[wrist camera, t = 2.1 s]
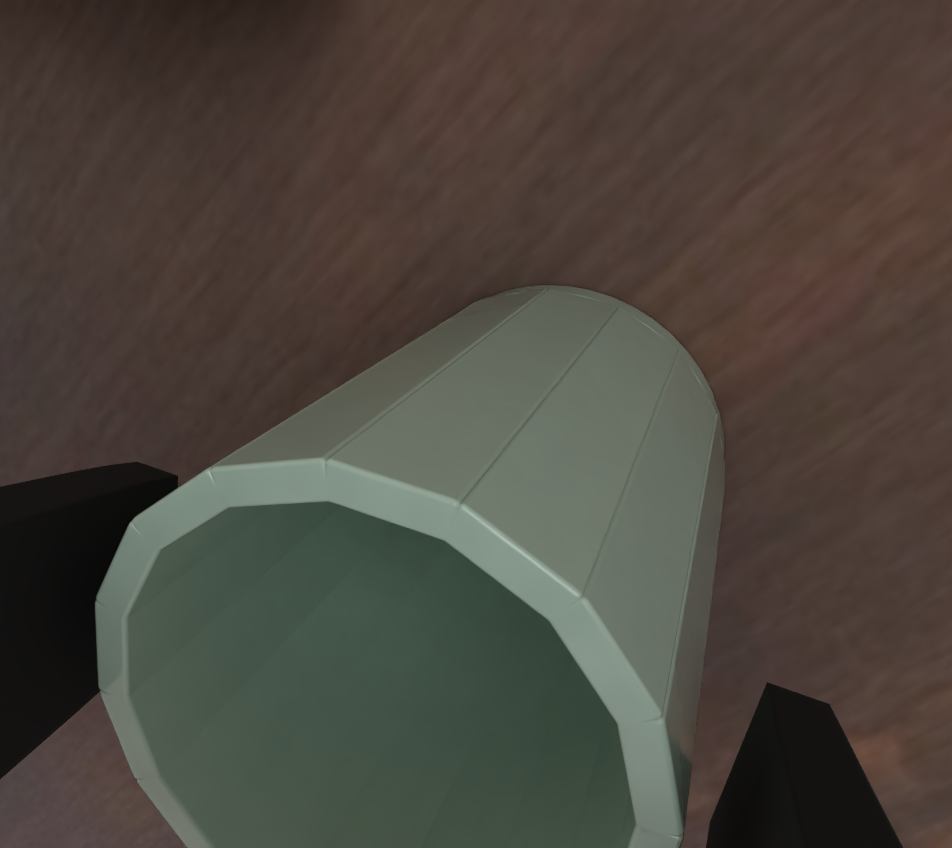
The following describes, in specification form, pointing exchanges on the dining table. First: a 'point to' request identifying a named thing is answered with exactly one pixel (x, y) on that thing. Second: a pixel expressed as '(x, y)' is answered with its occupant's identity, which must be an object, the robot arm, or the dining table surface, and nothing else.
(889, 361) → the dining table surface
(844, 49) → the dining table surface
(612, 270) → the dining table surface
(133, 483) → the robot arm
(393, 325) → the dining table surface
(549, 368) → the cup
